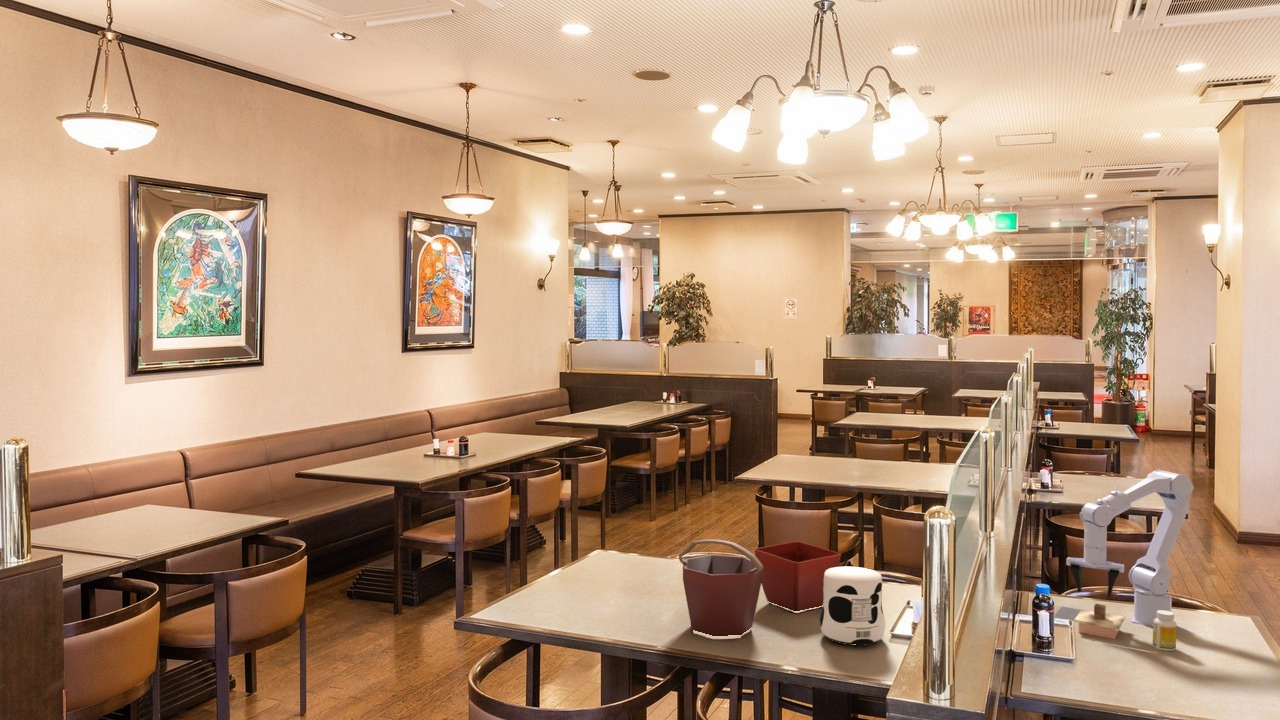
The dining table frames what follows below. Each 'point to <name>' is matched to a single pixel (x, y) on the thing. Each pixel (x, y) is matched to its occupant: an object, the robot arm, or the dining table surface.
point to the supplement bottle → (1164, 631)
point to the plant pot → (795, 573)
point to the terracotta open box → (1098, 631)
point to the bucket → (721, 589)
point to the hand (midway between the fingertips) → (1094, 593)
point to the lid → (1099, 617)
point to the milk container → (852, 606)
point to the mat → (1067, 613)
